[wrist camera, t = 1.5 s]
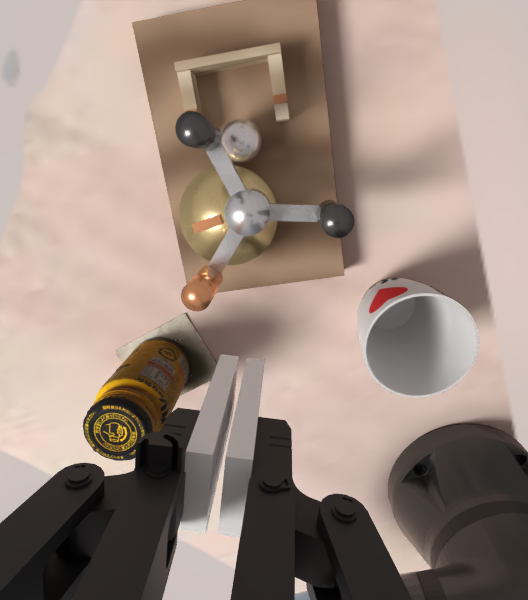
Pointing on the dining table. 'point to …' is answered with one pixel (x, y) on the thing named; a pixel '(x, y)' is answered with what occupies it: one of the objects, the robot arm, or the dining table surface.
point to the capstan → (235, 212)
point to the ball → (241, 140)
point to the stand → (256, 108)
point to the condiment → (147, 387)
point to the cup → (415, 338)
